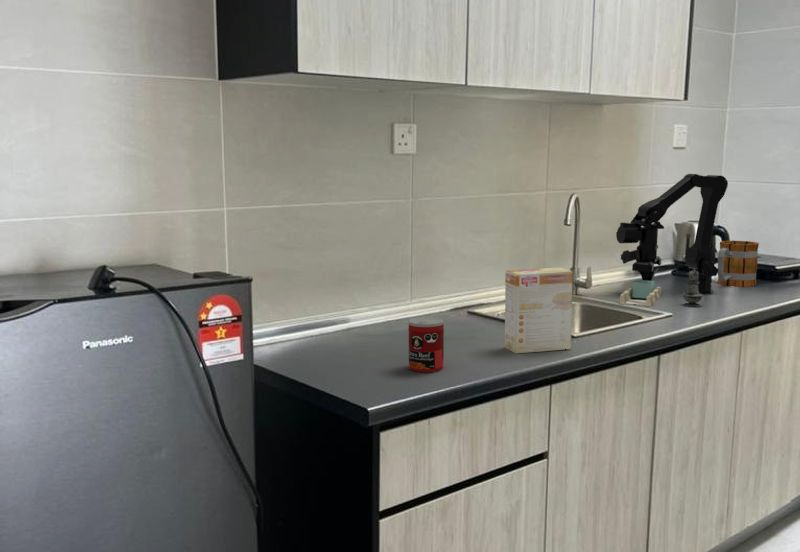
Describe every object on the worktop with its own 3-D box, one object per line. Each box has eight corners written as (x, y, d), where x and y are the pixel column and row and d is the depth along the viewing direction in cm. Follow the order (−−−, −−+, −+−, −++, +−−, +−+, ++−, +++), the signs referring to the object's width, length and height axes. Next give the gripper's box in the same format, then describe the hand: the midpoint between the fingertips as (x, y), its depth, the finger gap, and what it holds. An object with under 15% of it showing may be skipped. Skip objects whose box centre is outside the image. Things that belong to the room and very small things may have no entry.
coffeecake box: (558, 343, 199) (560, 266, 196) (571, 349, 192) (574, 270, 189) (503, 347, 195) (504, 269, 192) (514, 354, 188) (516, 273, 185)
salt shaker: (699, 303, 247) (701, 266, 245) (704, 307, 241) (706, 269, 240) (680, 303, 248) (681, 266, 246) (684, 307, 242) (686, 268, 240)
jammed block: (635, 294, 262) (636, 279, 261) (654, 295, 259) (655, 280, 258) (632, 297, 257) (632, 282, 256) (651, 298, 254) (651, 283, 253)
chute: (632, 293, 265) (632, 285, 264) (660, 296, 261) (661, 287, 260) (619, 304, 247) (620, 294, 247) (650, 306, 243) (650, 297, 243)
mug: (728, 279, 292) (731, 239, 290) (764, 284, 282) (767, 242, 280) (700, 285, 280) (702, 243, 278) (736, 290, 270) (739, 247, 267)
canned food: (402, 369, 175) (401, 321, 174) (421, 361, 182) (421, 315, 180) (431, 375, 171) (431, 325, 169) (449, 366, 178) (450, 319, 176)
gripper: (629, 238, 271) (627, 283, 274) (617, 244, 255) (615, 291, 257) (662, 240, 266) (660, 285, 269) (652, 246, 250) (650, 294, 252)
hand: (645, 289), depth 262 cm, fingers closed
